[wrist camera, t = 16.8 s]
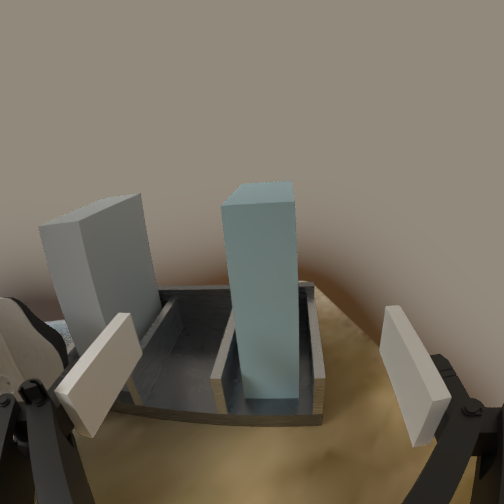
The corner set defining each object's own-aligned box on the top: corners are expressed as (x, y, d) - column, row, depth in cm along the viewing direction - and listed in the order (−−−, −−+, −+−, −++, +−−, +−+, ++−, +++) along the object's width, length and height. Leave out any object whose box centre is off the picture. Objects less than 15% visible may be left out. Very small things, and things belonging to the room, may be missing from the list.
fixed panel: (92, 385, 26) (38, 226, 21) (134, 328, 36) (104, 198, 31) (130, 392, 26) (78, 220, 20) (167, 329, 36) (140, 193, 31)
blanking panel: (244, 398, 25) (220, 205, 19) (255, 333, 34) (242, 184, 29) (298, 397, 24) (294, 201, 19) (297, 332, 33) (291, 181, 28)
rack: (77, 402, 25) (47, 339, 23) (129, 330, 39) (114, 276, 36) (321, 425, 23) (327, 354, 20) (313, 332, 36) (313, 271, 33)
